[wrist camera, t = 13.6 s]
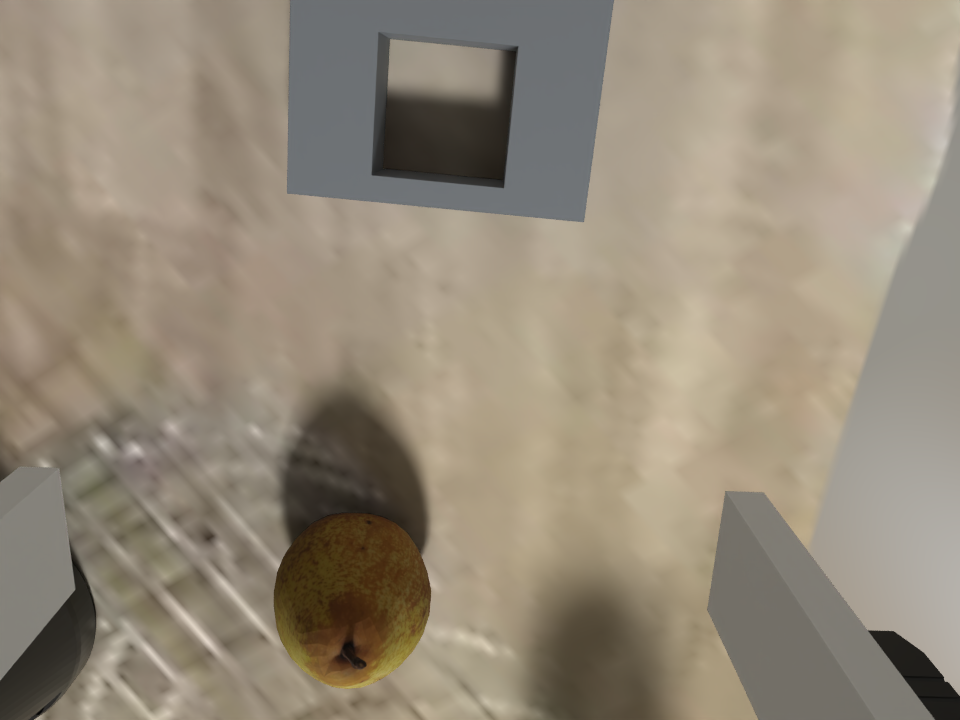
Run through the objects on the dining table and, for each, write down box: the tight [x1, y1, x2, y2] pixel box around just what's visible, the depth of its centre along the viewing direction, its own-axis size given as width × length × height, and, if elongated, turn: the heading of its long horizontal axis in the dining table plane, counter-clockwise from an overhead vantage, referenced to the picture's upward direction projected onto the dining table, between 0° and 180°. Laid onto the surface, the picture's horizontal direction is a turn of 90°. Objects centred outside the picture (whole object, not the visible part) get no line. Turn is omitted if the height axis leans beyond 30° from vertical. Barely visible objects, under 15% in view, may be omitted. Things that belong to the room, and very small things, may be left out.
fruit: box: [274, 513, 431, 689], centre depth 42 cm, size 9×9×12 cm
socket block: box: [287, 0, 614, 222], centre depth 36 cm, size 14×18×4 cm
